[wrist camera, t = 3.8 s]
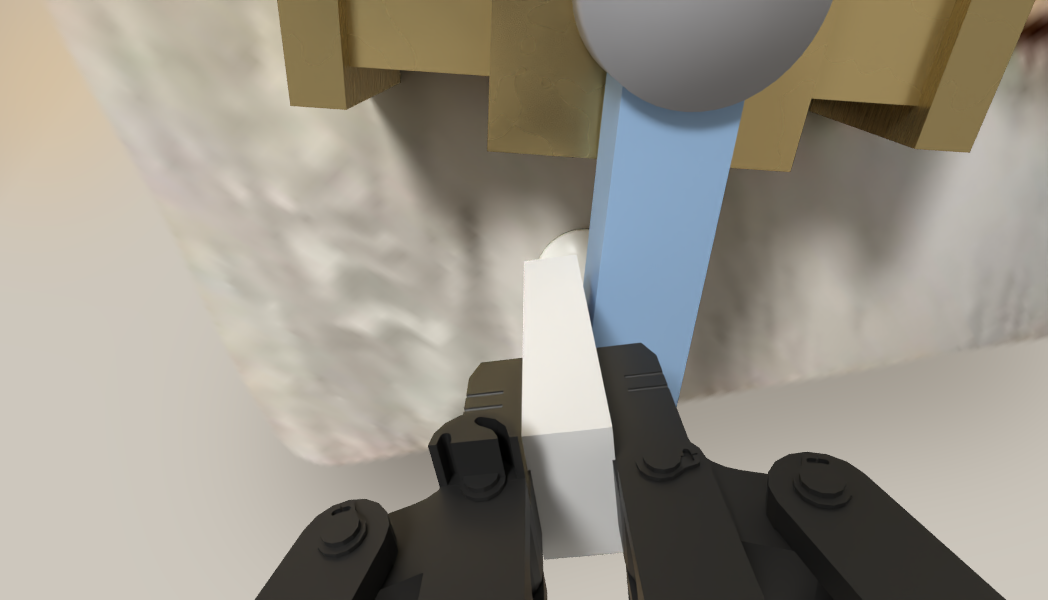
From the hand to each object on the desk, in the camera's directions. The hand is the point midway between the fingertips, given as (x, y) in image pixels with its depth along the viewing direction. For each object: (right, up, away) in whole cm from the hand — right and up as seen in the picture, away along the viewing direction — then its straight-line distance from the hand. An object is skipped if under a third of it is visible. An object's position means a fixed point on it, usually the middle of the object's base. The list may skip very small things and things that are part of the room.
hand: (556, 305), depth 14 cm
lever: (+2, +2, 0) cm, 3 cm away
